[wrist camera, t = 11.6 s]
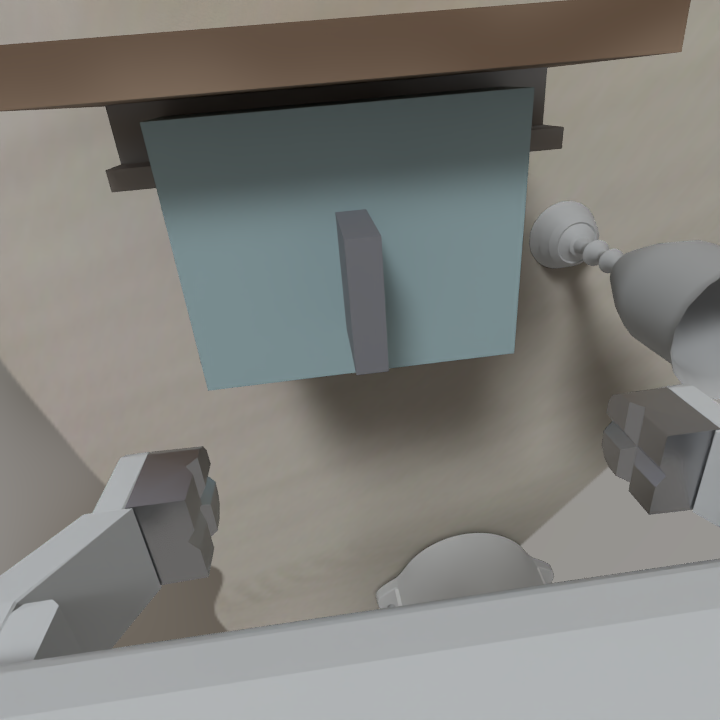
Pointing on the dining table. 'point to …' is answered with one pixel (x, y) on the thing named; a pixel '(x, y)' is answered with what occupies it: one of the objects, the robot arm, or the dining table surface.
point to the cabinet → (347, 231)
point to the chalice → (647, 289)
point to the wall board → (328, 63)
